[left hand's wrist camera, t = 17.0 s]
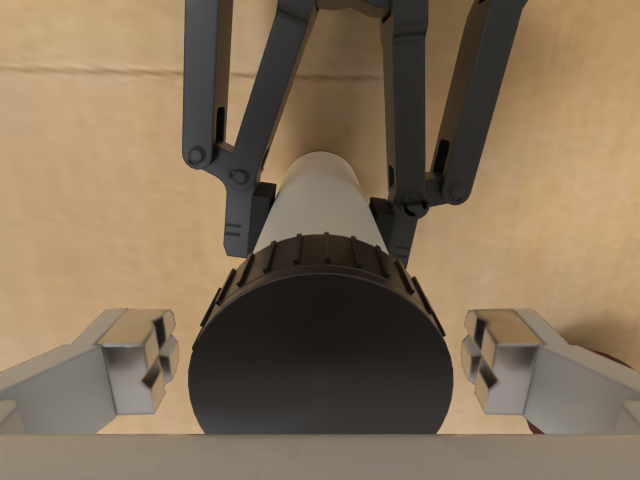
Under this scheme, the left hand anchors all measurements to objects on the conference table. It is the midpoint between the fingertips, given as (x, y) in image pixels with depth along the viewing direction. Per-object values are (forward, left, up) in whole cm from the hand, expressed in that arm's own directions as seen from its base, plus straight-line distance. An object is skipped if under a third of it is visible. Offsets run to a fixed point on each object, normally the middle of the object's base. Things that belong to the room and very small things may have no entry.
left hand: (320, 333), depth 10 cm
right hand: (+4, -3, -9) cm, 11 cm away
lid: (0, 0, +2) cm, 2 cm away
